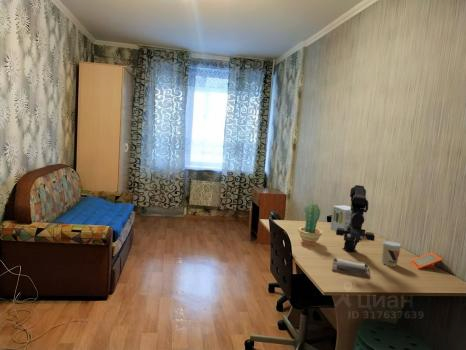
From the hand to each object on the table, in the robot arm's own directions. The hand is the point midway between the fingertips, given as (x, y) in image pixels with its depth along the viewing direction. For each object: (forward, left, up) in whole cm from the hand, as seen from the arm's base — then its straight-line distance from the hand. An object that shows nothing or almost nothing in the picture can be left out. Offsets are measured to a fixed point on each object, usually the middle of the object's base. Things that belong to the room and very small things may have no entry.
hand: (352, 249), depth 190 cm
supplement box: (-53, -59, -11) cm, 80 cm away
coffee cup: (-30, 0, -11) cm, 32 cm away
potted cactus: (-8, -43, -11) cm, 45 cm away
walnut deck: (0, 0, -11) cm, 11 cm away
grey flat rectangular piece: (0, 0, -10) cm, 10 cm away
